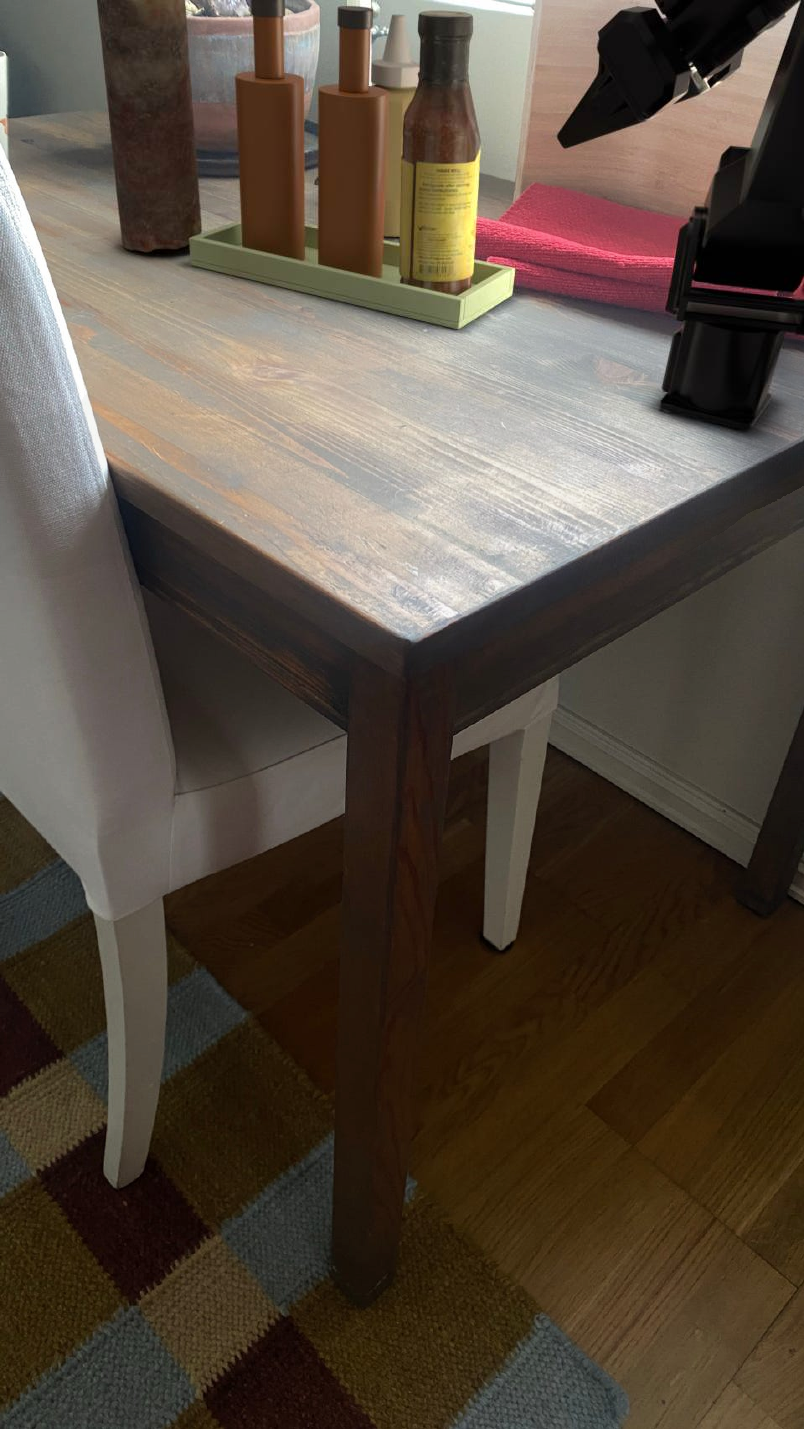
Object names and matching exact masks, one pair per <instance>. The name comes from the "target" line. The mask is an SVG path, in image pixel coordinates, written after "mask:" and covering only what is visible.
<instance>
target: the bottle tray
mask: <svg viewBox="0 0 804 1429" xmlns="http://www.w3.org/2000/svg"><path fill="white" fill-rule="evenodd" d="M250 15H251V16H252V32H253V33H252V34H253V36H252V37H253V62H254V71H253V70H251V71H242V72H239V73H236V74H235V75H234V82H235V83H234V89H235V109H236V110H235V111H236V130H237V131H236V132H237V133H236V135H237V136H236V137H237V157H238V179H239V180H238V182H239V203H240V204H239V206H240V219H239V220H235V221H232V222H229V223H227V224H224V225H221V226H219V227H216V228H213V229H210V230H207V231H205V232H201V234H199V235H196V236H193V237H191V238H189V244H188V245H189V255H190V256H189V257H190V266H193V267H197V268H201V269H206V270H210V271H213V272H218V273H221V274H226V275H230V276H233V277H234V276H235V277H238V278H243V279H247V280H251V281H256V282H260V283H264V284H267V285H273V286H276V287H280V288H285V289H289V290H292V291H295V292H296V291H297V292H300V293H305V294H310V295H313V296H317V297H323V298H326V299H330V300H335V301H337V302H343V303H347V304H350V305H355V306H359V307H362V308H367V309H371V310H374V311H375V310H376V311H380V312H384V313H387V314H388V313H389V314H392V315H396V316H401V317H405V318H409V319H413V320H417V321H422V322H426V323H430V324H434V325H437V326H442V327H447V328H451V329H455V330H460V329H462V328H463V327H464V326H466V325H468V324H469V323H471V322H473V321H474V320H476V319H477V318H479V317H480V316H482V315H484V314H485V313H487V312H488V311H490V310H491V309H493V308H495V307H496V306H497V305H499V304H501V303H502V302H504V301H505V300H507V299H509V298H510V297H512V296H513V290H514V285H515V284H514V283H515V282H514V281H515V275H516V267H513V266H508V265H503V264H498V263H493V262H490V261H489V262H488V261H484V260H481V259H475V258H474V272H473V275H472V280H471V288H470V289H468V290H466V291H465V292H463V293H461V294H460V295H458V296H454V295H449V294H445V293H441V292H436V291H432V290H428V289H423V288H419V287H414V286H410V285H406V284H401V283H400V279H401V275H400V273H399V242H396V241H391V240H386V239H384V238H385V236H384V211H385V186H386V160H387V135H388V109H389V92H388V91H387V90H385V89H382V88H379V87H374V86H373V85H370V73H371V68H370V67H371V37H372V36H371V35H372V32H371V31H372V29H373V27H374V9H373V8H371V7H368V6H360V5H359V6H356V5H341V6H338V7H337V20H336V22H337V23H336V24H337V27H338V28H339V29H338V31H339V32H338V83H332V84H326V85H322V86H318V90H317V93H318V94H317V151H318V152H317V225H316V224H310V223H307V222H306V212H305V211H306V202H305V201H306V196H305V195H306V193H305V192H306V191H305V188H306V186H305V185H306V183H305V182H306V180H305V179H306V178H305V175H306V174H305V172H306V171H305V78H304V77H303V76H301V75H299V74H295V73H290V72H285V42H284V41H285V38H284V37H285V36H284V35H285V33H284V31H285V30H284V17H286V0H250Z"/></svg>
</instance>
